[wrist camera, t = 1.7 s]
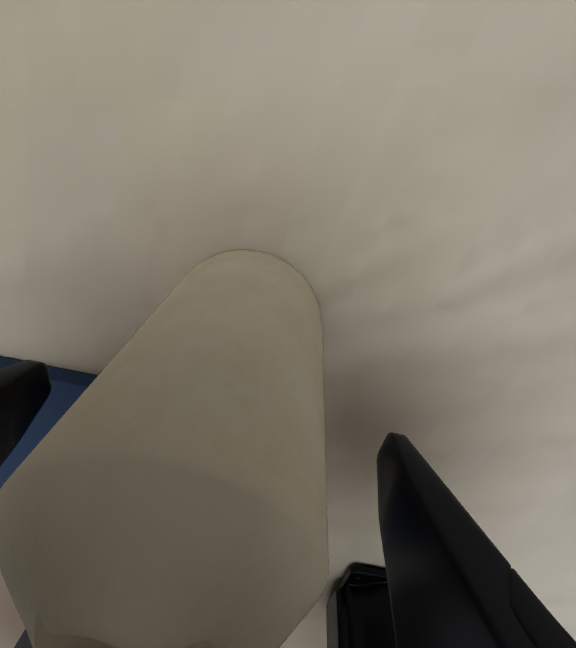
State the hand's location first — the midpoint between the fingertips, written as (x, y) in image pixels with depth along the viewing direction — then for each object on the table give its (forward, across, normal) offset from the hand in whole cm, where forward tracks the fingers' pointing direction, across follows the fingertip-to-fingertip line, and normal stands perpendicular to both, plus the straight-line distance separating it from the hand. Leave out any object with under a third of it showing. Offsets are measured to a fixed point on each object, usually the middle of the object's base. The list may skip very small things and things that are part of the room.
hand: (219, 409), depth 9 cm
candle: (+5, 0, 0) cm, 5 cm away
